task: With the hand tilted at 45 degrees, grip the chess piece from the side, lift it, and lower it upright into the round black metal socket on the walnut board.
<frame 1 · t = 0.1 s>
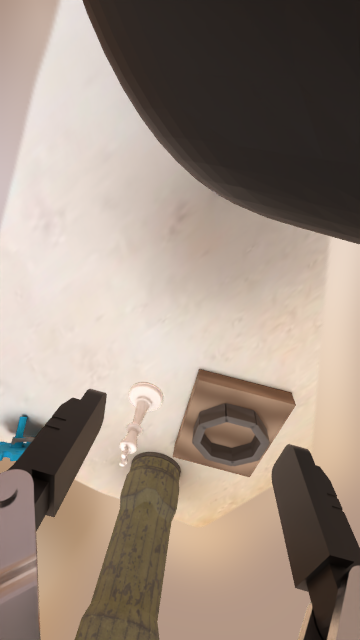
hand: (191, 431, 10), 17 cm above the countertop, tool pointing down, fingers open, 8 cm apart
blue and green toy: (35, 428, 42), on the countertop
thermos: (155, 466, 42), on the countertop
chess piece: (146, 394, 34), on the countertop
socket board: (226, 421, 34), on the countertop
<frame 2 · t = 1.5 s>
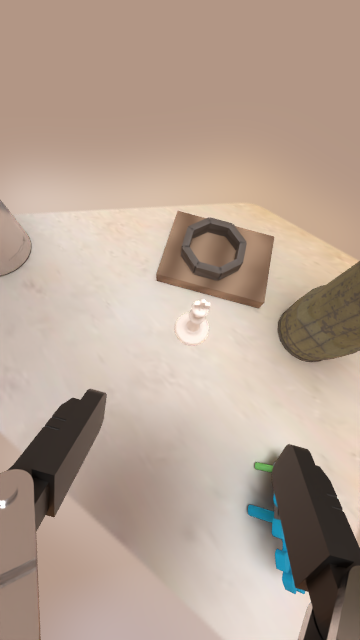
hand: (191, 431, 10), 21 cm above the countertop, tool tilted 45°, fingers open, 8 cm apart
blue and green toy: (276, 502, 28), on the countertop
thermos: (305, 333, 36), on the countertop
chess piece: (191, 329, 35), on the countertop
socket board: (215, 261, 38), on the countertop
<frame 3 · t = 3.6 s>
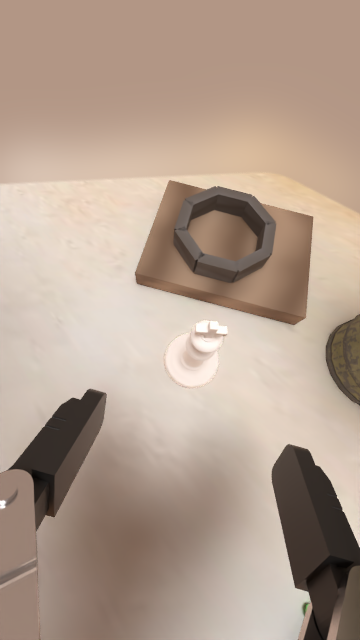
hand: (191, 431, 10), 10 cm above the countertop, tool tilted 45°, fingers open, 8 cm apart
chess piece: (191, 360, 22), on the countertop
socket board: (226, 254, 26), on the countertop
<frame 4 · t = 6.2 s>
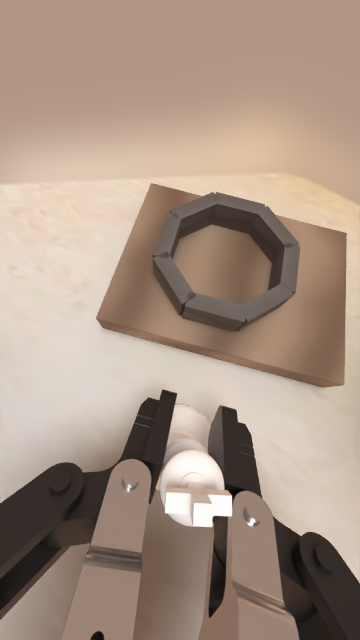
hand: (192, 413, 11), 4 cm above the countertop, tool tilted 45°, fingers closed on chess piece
chess piece: (176, 445, 15), on the countertop, touching gripper
socket board: (227, 284, 19), on the countertop
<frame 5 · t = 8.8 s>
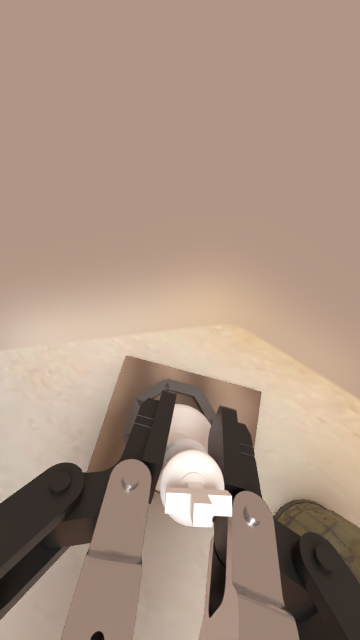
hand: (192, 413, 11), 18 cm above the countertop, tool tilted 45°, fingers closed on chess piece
thermos: (307, 550, 25), on the countertop
chess piece: (176, 445, 15), point 13 cm above the countertop, touching gripper
socket board: (179, 427, 27), on the countertop
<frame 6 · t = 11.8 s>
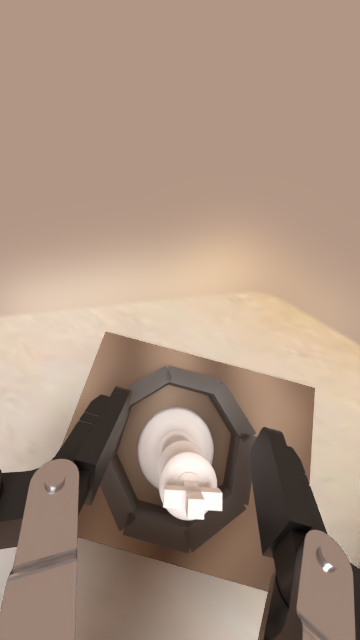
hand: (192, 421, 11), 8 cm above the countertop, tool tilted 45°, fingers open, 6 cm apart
chess piece: (175, 446, 16), point 2 cm above the countertop, touching socket board
socket board: (187, 443, 18), on the countertop
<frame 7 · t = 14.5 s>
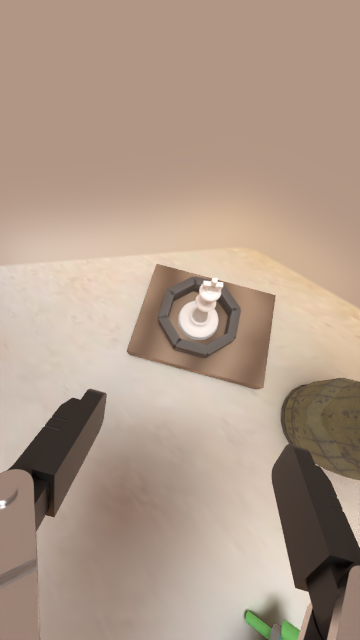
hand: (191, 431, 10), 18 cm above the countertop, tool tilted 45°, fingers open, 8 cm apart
thermos: (316, 422, 28), on the countertop
chess piece: (197, 321, 29), point 2 cm above the countertop, touching socket board
socket board: (203, 326, 31), on the countertop
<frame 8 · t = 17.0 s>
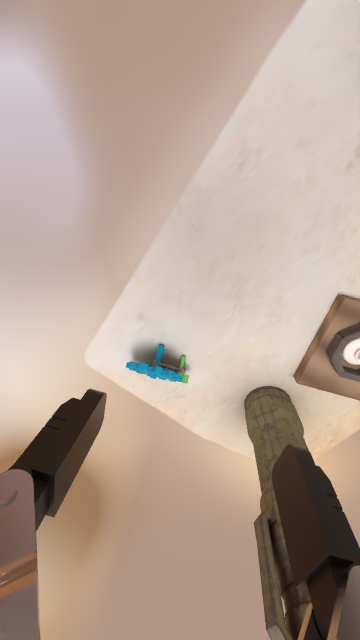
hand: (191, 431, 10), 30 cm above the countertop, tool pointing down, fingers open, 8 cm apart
blue and green toy: (161, 360, 46), on the countertop
thermos: (266, 403, 47), on the countertop
chess piece: (357, 348, 38), point 2 cm above the countertop, touching socket board
socket board: (349, 348, 40), on the countertop
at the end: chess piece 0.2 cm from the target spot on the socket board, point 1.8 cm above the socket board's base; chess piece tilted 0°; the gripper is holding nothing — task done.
